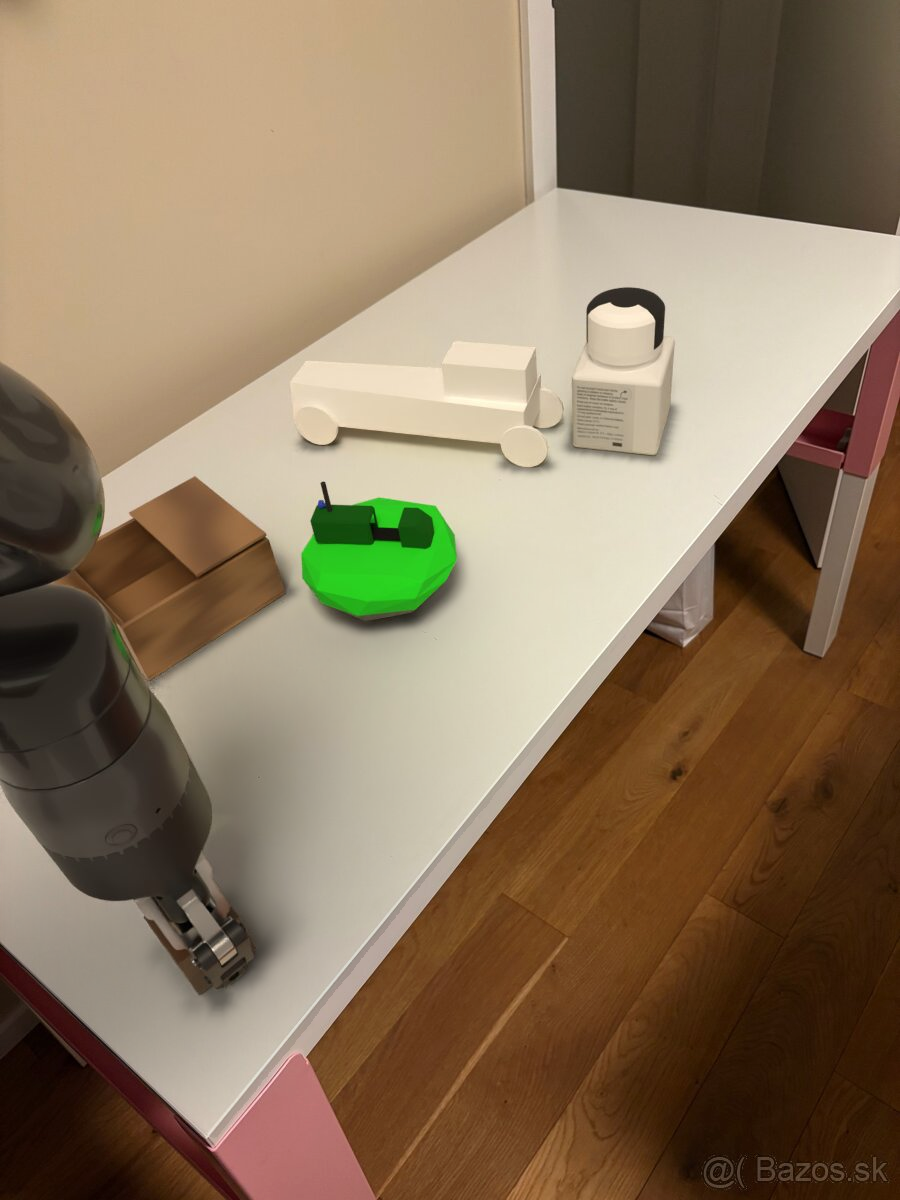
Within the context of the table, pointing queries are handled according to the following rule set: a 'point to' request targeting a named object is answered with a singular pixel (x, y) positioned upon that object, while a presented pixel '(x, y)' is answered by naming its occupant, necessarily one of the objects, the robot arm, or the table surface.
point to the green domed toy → (377, 556)
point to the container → (623, 374)
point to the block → (183, 955)
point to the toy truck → (434, 399)
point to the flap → (80, 587)
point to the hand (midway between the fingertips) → (209, 945)
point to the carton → (181, 574)
